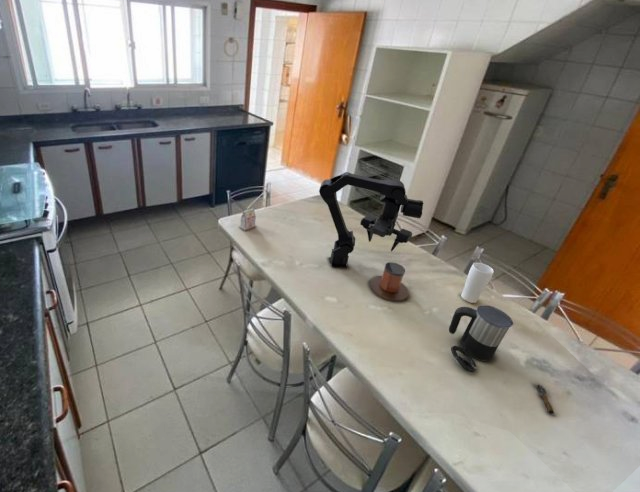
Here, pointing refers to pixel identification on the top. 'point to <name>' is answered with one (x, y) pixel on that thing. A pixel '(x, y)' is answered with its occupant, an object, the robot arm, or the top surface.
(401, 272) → the orange mug
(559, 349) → the top surface
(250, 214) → the milk carton
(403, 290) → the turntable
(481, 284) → the drinking glass
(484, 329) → the milk frother
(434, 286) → the top surface
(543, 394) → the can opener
